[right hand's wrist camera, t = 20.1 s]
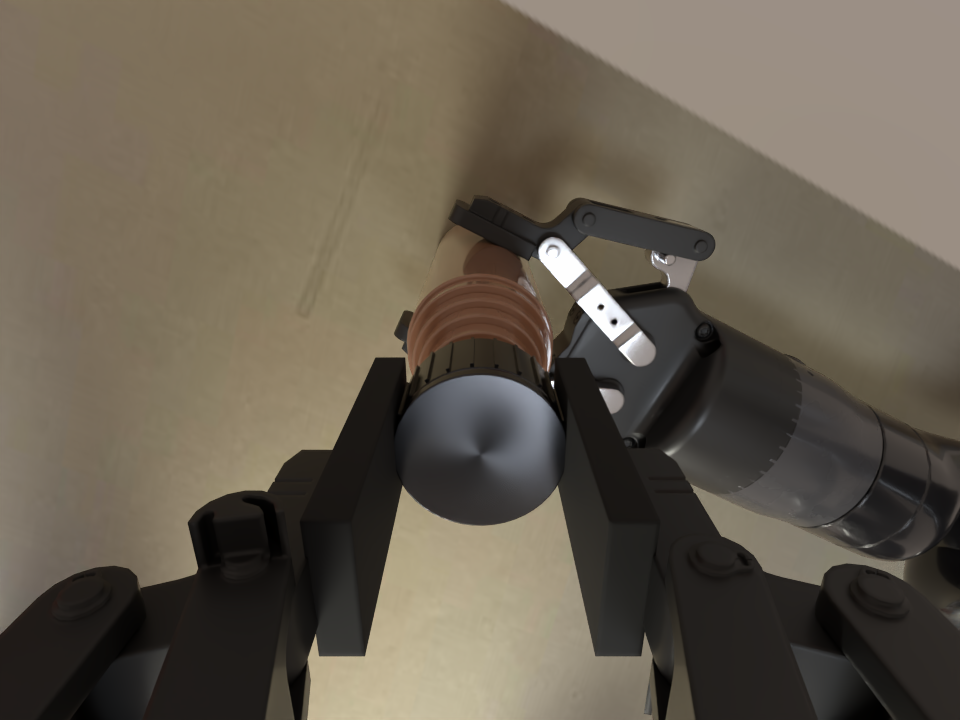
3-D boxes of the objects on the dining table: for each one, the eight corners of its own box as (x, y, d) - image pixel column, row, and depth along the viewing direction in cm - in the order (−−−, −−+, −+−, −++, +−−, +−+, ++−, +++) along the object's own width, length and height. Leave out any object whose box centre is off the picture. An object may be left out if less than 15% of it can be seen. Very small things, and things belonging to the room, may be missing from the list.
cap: (444, 493, 16) (438, 550, 14) (374, 373, 14) (356, 415, 12) (579, 441, 15) (595, 491, 13) (520, 309, 14) (527, 341, 12)
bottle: (433, 303, 32) (374, 516, 14) (437, 214, 30) (375, 331, 12) (520, 310, 32) (569, 528, 14) (529, 221, 30) (599, 346, 12)
